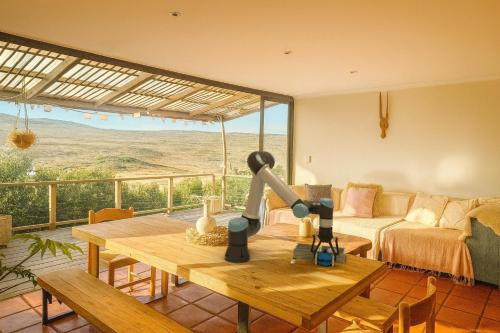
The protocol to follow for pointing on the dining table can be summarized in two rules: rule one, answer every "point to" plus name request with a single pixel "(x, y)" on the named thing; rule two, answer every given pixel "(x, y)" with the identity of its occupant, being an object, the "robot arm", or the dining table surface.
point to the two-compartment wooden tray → (304, 252)
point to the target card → (293, 261)
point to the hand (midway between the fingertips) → (324, 265)
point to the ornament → (324, 258)
